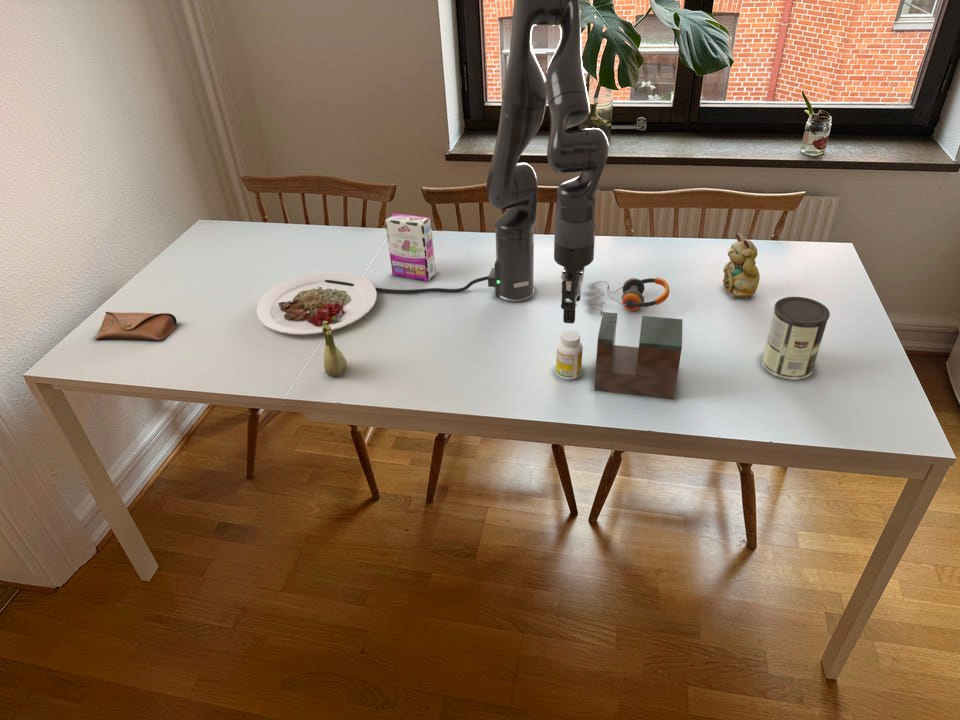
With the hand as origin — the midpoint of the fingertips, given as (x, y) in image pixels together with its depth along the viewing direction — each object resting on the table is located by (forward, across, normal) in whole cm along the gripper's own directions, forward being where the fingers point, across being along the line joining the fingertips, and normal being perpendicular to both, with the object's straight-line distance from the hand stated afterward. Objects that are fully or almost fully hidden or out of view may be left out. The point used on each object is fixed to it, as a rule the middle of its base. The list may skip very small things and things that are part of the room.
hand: (571, 311), depth 138 cm
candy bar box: (+15, -36, -47) cm, 61 cm away
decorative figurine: (+16, -41, +37) cm, 57 cm away
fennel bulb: (+16, +9, -50) cm, 53 cm away
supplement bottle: (+16, 0, 0) cm, 16 cm away
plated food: (+15, -16, -66) cm, 70 cm away
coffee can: (+16, -11, +45) cm, 49 cm away
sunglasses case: (+15, +3, -106) cm, 107 cm away
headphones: (+16, -31, +10) cm, 36 cm away
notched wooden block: (+16, 0, +14) cm, 21 cm away
